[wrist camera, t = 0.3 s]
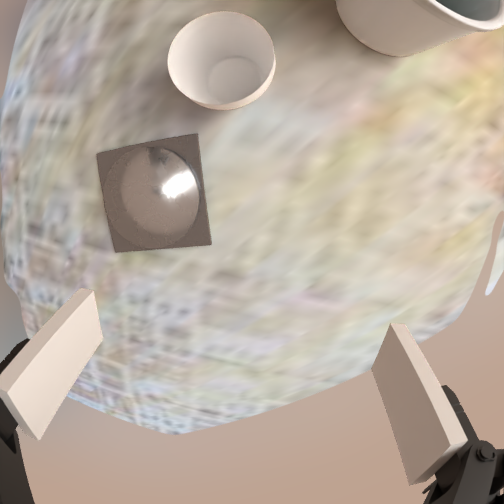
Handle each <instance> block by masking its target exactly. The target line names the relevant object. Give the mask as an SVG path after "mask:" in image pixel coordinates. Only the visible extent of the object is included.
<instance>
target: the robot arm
mask: <svg viewBox="0 0 504 504" xmlns="http://www.w3.org/2000/svg"><path fill="white" fill-rule="evenodd" d="M102 340H103V335H102V331H101V326H100V321H99V316H98V311H97V306H96V300H95V295H94V290H88V289H83V288H80V289H79V290H78V291H77V292H76V293H75V294H74V295H73V296H72V297H71V298H70V299H69V300H68V301H67V302H66V303H65V304H64V305H63V306H62V307H61V308H60V309H59V310H58V311H57V312H56V313H55V314H54V315H53V316H52V317H51V318H50V319H49V320H48V321H47V322H46V323H45V324H44V325H43V327H42V328H41V329H40V330H39V331H38V332H37V333H36V334H35V335H34V336H33V337H32V339H31V340H30V339H28V338H27V339H25V340H24V341H22V342H20V343H19V344H17V345H16V346H15V347H14V348H13V350H12V351H11V352H10V354H8V355H7V357H6V358H5V360H3V361H2V362H1V363H0V504H35V503H34V500H33V497H32V493H31V490H30V487H29V483H28V479H27V476H26V472H25V468H24V464H23V459H22V454H21V449H20V444H19V438H18V434H17V431H16V430H15V429H16V427H17V426H18V425H19V426H20V428H21V429H22V431H23V432H24V433H25V434H27V435H28V436H30V437H32V438H34V439H36V440H38V441H40V439H41V437H42V435H43V434H44V432H45V430H46V428H47V427H48V425H49V423H50V421H51V420H52V418H53V416H54V415H55V413H56V411H57V410H58V408H59V406H60V405H61V403H62V401H63V400H64V398H65V397H66V395H67V393H68V392H69V390H70V389H71V387H72V385H73V384H74V382H75V381H76V379H77V378H78V376H79V374H80V373H81V371H82V370H83V368H84V367H85V365H86V364H87V362H88V361H89V359H90V358H91V356H92V355H93V353H94V352H95V350H96V349H97V347H98V346H99V344H100V343H101V341H102ZM371 370H372V372H373V375H374V378H375V380H376V383H377V386H378V389H379V391H380V394H381V397H382V400H383V403H384V406H385V409H386V411H387V414H388V417H389V420H390V423H391V426H392V430H393V433H394V436H395V439H396V442H397V445H398V448H399V452H400V455H401V458H402V462H403V465H404V468H405V472H406V475H407V479H408V482H409V485H413V484H417V483H421V482H425V481H427V480H428V479H429V478H430V477H431V476H433V475H434V474H435V476H436V480H435V481H434V482H433V483H432V484H431V485H429V486H428V487H427V488H426V489H425V490H424V491H423V492H422V493H423V494H425V493H426V492H427V491H429V490H430V491H429V493H428V495H427V497H426V499H425V501H424V503H423V504H504V494H502V495H500V489H502V488H503V487H504V449H497V450H496V449H495V448H494V447H493V445H492V444H490V443H489V442H487V441H482V440H481V441H479V439H478V437H477V435H476V433H475V431H474V429H473V427H472V425H471V423H470V421H469V419H468V417H467V415H466V414H465V412H464V410H463V408H462V406H461V405H460V402H459V400H458V398H457V397H456V395H455V393H454V392H453V391H452V390H451V389H450V388H449V387H448V386H447V385H444V386H441V385H440V384H439V382H438V380H437V378H436V376H435V375H434V373H433V371H432V369H431V367H430V366H429V364H428V362H427V360H426V359H425V357H424V355H423V354H422V352H421V350H420V348H419V347H418V345H417V343H416V342H415V340H414V338H413V337H412V335H411V333H410V332H409V330H408V328H407V327H406V325H405V324H395V323H390V325H389V328H388V331H387V333H386V336H385V338H384V341H383V343H382V345H381V348H380V350H379V353H378V355H377V357H376V359H375V362H374V364H373V366H372V368H371Z"/></svg>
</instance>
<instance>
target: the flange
mask: <svg viewBox="0 0 504 504" xmlns="http://www.w3.org/2000/svg"><path fill="white" fill-rule="evenodd" d="M97 160H98V167H99V174H100V180H101V186H102V191H103V197H104V206H105V210H106V213H107V217H108V222H109V226H110V231H111V235H112V239H113V244H114V248H115V252H128V251H140V250H152V249H165V248H177V247H190V246H203V245H211V244H212V241H211V234H210V227H209V220H208V212H207V205H206V197H205V190H204V182H203V174H202V166H201V157H200V149H199V140H198V134H192V135H185V136H179V137H173V138H167V139H162V140H156V141H151V142H146V143H141V144H136V145H132V146H127V147H123V148H118V149H114V150H110V151H106V152H102V153H98V154H97Z"/></svg>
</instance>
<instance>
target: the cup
mask: <svg viewBox="0 0 504 504" xmlns="http://www.w3.org/2000/svg"><path fill="white" fill-rule="evenodd" d="M275 67H276V59H275V53H274V46H273V42H272V40H271V37H270V35H269V34H268V32H267V31H266V29H265V28H264V27H263V26H262V25H261V24H260V23H259V22H257V21H256V20H254V19H253V18H251V17H249V16H247V15H244V14H241V13H237V12H230V11H219V12H213V13H208V14H205V15H202V16H200V17H198V18H196V19H194V20H192V21H191V22H189V23H188V24H187V25H186V26H184V27H183V28H182V29H181V30H180V31H179V33H178V34H177V35H176V37H175V38H174V40H173V42H172V44H171V46H170V49H169V53H168V70H169V74H170V76H171V79H172V81H173V83H174V84H175V85H176V87H177V88H178V89H179V90H180V91H181V92H182V93H183V94H185V95H186V96H187V97H188V98H189V99H191V100H192V101H193V102H195V103H197V104H199V105H201V106H203V107H206V108H210V109H215V110H231V109H236V108H240V107H243V106H245V105H247V104H249V103H251V102H253V101H254V100H256V99H257V98H258V97H259V96H261V95H262V94H263V93H264V92H265V90H266V89H267V88H268V86H269V84H270V83H271V81H272V78H273V76H274V72H275Z"/></svg>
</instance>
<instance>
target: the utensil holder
mask: <svg viewBox="0 0 504 504" xmlns="http://www.w3.org/2000/svg"><path fill="white" fill-rule="evenodd" d="M336 7H337V11H338V14H339V16H340V18H341V20H342V22H343V24H344V25H345V26H346V28H347V29H348V30H349V31H350V33H351V34H352V35H353V36H354V37H356V38H357V39H358V40H359V41H360V42H362V43H363V44H365V45H366V46H368V47H369V48H371V49H373V50H375V51H377V52H379V53H382V54H385V55H390V56H399V57H404V56H411V55H414V54H417V53H420V52H423V51H425V50H428V49H431V48H434V47H436V46H439V45H441V44H444V43H447V42H450V41H452V40H455V39H458V38H460V37H463V36H466V35H469V34H472V33H475V32H487V31H492V30H495V29H498V28H500V27H501V26H503V25H504V0H336Z"/></svg>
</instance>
